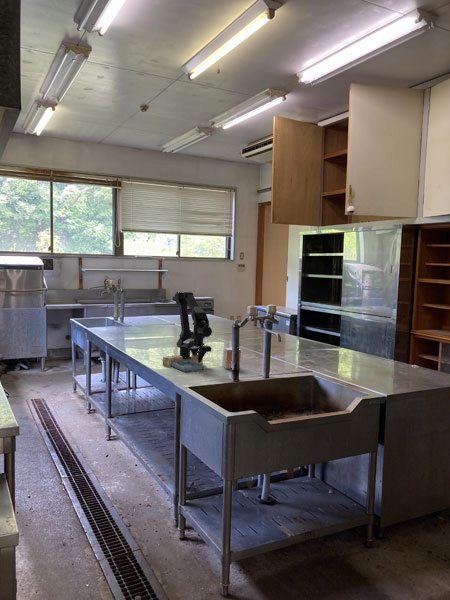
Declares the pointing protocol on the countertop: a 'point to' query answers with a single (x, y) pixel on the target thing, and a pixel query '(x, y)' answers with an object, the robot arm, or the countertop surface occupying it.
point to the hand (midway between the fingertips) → (196, 361)
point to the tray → (187, 366)
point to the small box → (229, 357)
